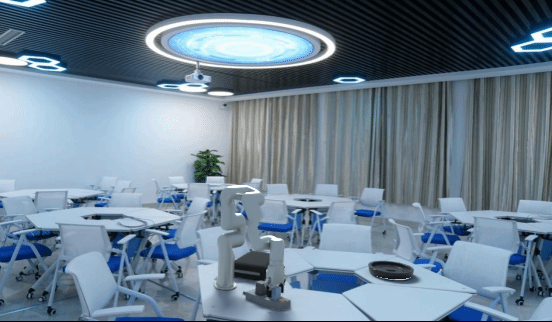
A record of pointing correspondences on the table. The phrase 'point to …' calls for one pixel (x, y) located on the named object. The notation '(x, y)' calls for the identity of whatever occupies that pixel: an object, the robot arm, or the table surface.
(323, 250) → the table surface
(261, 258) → the briefcase
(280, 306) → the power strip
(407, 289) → the table surface
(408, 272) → the round tray
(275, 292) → the block
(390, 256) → the table surface
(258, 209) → the robot arm
